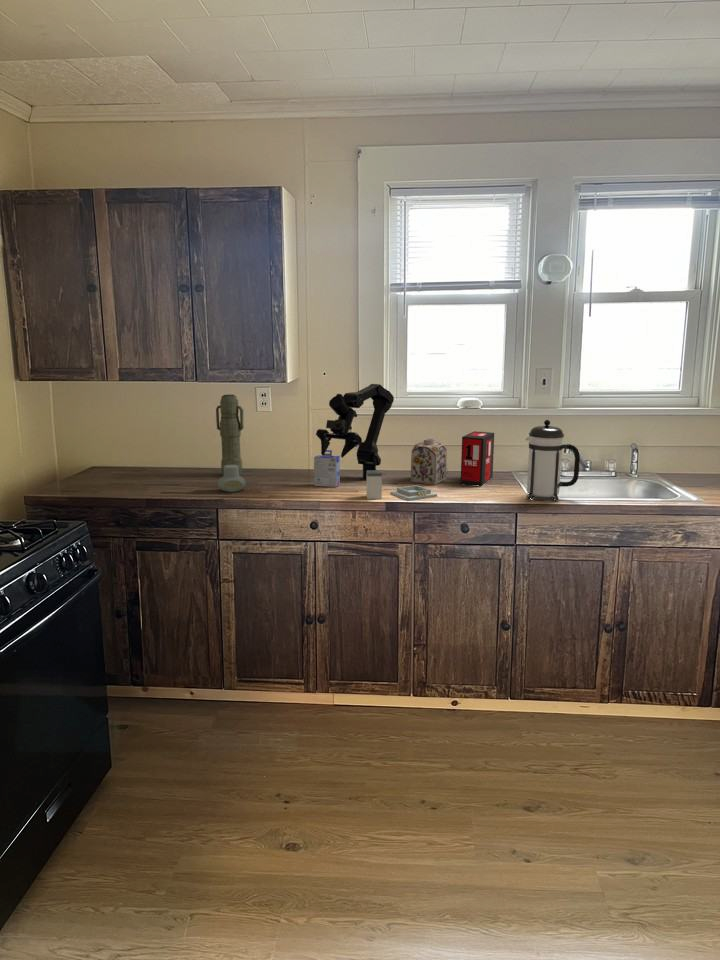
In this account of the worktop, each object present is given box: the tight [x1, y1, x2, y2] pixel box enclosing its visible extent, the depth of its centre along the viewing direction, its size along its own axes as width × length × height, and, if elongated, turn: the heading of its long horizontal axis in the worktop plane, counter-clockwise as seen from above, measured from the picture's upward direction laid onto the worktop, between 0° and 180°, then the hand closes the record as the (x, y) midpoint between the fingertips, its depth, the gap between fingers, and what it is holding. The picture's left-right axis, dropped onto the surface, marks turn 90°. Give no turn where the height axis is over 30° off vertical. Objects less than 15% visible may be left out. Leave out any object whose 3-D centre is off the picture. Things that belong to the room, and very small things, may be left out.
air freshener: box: [217, 465, 247, 493], centre depth 278 cm, size 11×8×10 cm
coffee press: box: [524, 419, 581, 501], centre depth 265 cm, size 17×16×30 cm
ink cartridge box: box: [313, 449, 341, 488], centre depth 287 cm, size 10×6×14 cm, turn 78°
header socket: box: [390, 484, 438, 502], centre depth 272 cm, size 13×13×2 cm
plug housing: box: [365, 469, 383, 500], centre depth 268 cm, size 6×6×10 cm
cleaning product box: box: [460, 431, 495, 487], centre depth 293 cm, size 16×9×20 cm, turn 154°
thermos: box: [215, 394, 245, 477], centre depth 304 cm, size 9×12×35 cm
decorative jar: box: [410, 438, 448, 486], centre depth 294 cm, size 12×12×18 cm
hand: (331, 455), depth 274 cm, fingers open, 9 cm apart
